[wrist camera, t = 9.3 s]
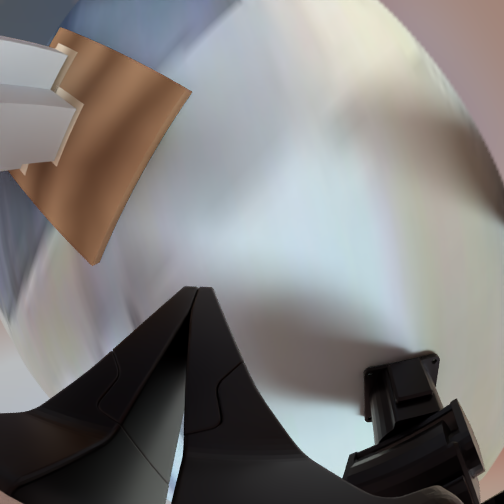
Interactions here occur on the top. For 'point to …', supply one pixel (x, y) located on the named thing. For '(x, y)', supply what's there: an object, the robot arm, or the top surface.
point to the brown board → (99, 140)
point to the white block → (30, 103)
